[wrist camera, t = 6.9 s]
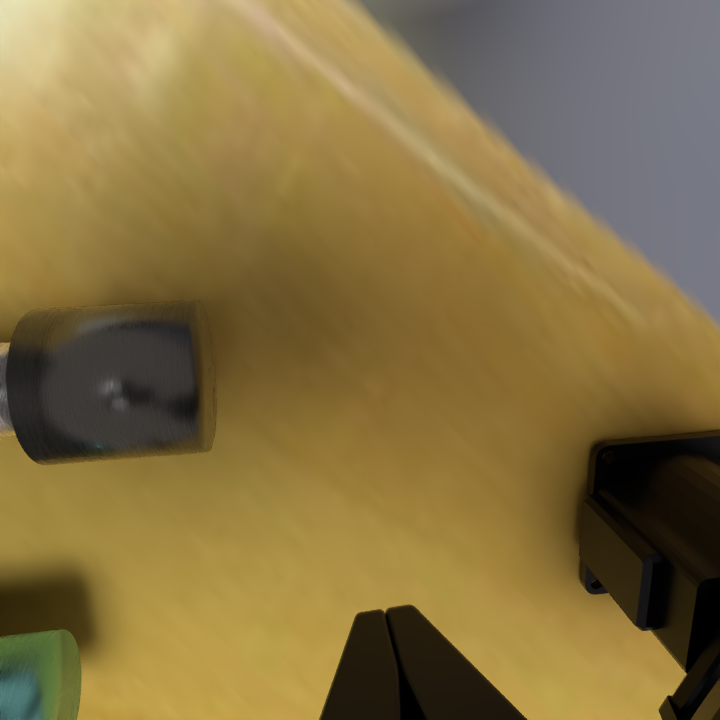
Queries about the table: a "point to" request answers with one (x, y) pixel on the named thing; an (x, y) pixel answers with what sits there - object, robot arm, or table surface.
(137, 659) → the table surface
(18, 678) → the teal and white peg
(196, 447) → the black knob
